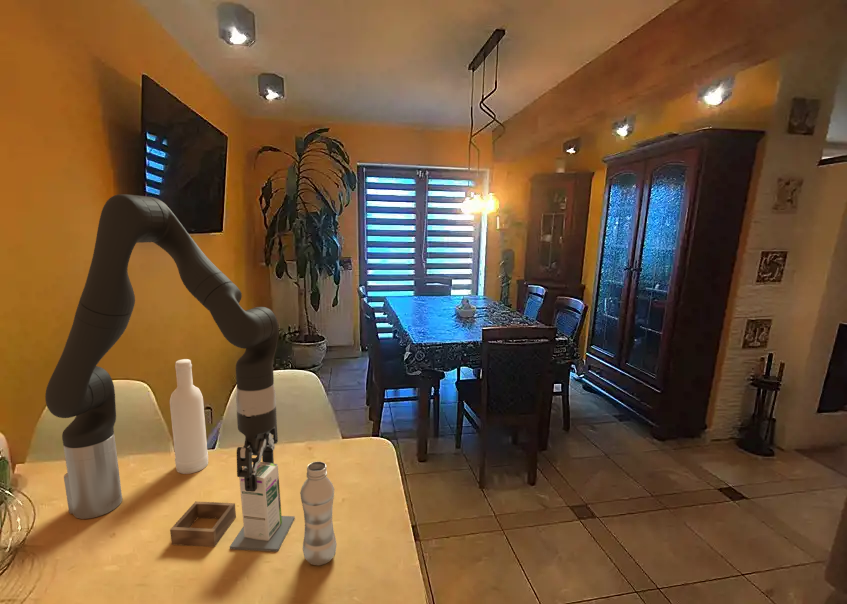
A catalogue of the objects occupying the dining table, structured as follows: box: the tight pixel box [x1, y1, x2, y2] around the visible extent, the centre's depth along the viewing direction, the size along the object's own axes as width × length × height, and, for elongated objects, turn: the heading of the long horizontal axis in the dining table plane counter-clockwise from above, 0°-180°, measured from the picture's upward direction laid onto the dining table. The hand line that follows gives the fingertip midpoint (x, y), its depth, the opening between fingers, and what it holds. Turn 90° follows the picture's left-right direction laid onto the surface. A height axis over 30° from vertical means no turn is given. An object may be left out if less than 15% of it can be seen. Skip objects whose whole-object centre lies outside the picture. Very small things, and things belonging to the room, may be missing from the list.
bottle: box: [169, 358, 209, 475], centre depth 116 cm, size 8×8×30 cm
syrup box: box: [238, 461, 283, 541], centre depth 93 cm, size 6×6×14 cm
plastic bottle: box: [299, 460, 337, 566], centre depth 86 cm, size 6×7×20 cm
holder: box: [169, 501, 237, 548], centre depth 94 cm, size 9×9×4 cm
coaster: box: [229, 515, 296, 553], centre depth 94 cm, size 10×10×1 cm
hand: (260, 478), depth 92 cm, fingers open, 8 cm apart
